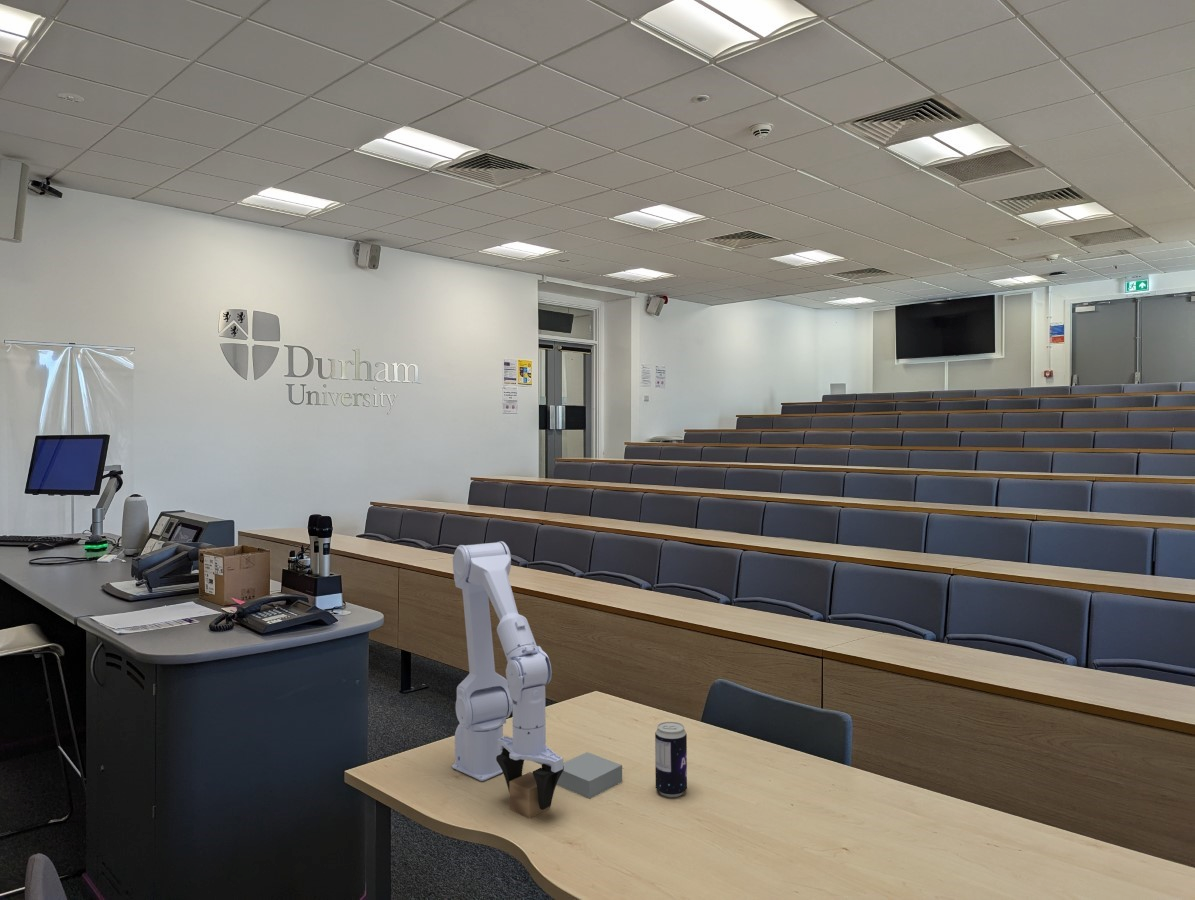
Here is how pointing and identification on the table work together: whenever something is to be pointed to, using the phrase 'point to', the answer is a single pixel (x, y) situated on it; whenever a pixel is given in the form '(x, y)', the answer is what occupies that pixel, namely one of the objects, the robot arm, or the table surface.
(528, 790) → the walnut cube
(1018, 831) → the table surface
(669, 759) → the beverage can
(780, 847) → the table surface
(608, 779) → the grey block
